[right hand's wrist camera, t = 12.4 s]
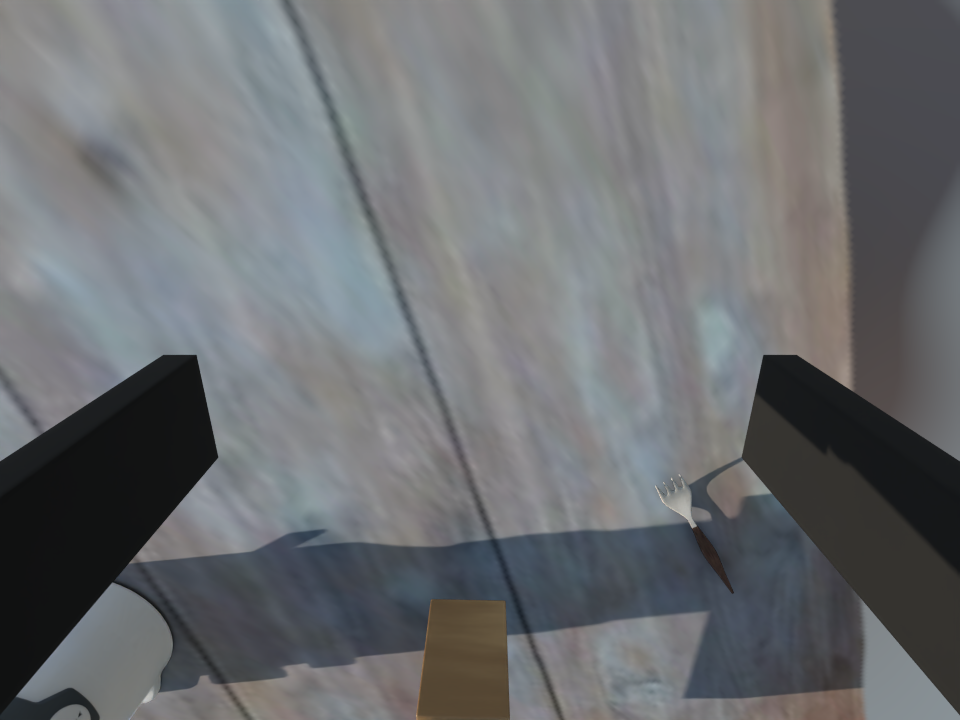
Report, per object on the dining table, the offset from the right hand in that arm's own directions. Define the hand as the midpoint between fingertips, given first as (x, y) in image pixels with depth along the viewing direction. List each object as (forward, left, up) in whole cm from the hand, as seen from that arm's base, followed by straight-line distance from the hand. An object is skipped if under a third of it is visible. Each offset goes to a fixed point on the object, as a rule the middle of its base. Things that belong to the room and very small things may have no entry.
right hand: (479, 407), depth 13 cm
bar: (+28, +27, -20) cm, 44 cm away
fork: (+5, +32, -28) cm, 43 cm away
